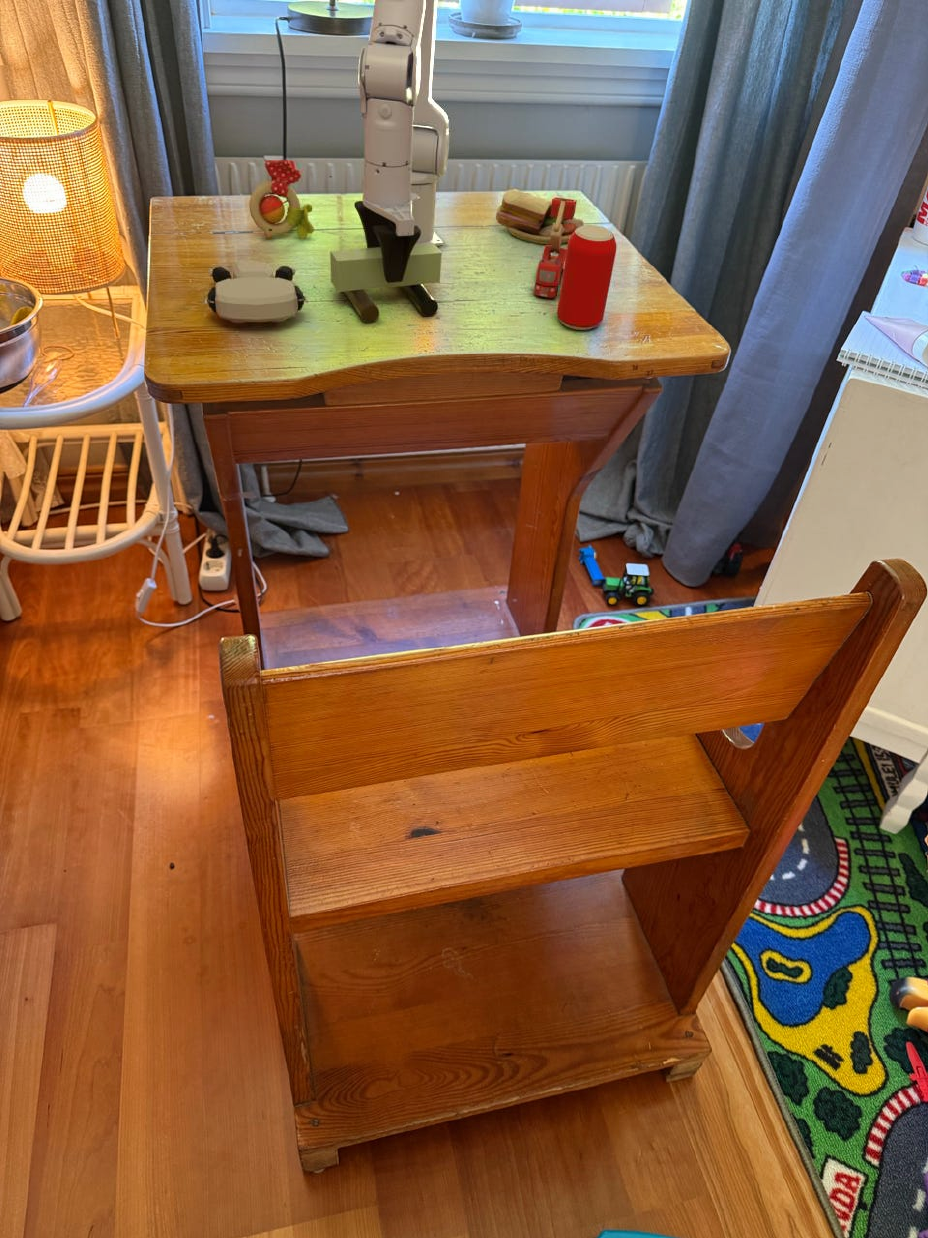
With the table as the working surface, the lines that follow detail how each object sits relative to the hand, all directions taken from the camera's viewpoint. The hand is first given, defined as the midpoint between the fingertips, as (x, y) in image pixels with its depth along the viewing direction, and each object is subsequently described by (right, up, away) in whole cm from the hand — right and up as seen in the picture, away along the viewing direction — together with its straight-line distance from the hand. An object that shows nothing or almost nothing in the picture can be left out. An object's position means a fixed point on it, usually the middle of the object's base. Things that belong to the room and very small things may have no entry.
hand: (385, 270), depth 119 cm
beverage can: (+25, -6, +2) cm, 26 cm away
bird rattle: (-16, +11, +15) cm, 25 cm away
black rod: (+3, -2, +4) cm, 6 cm away
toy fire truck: (+22, +3, +11) cm, 25 cm away
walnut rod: (-4, -4, +1) cm, 6 cm away
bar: (0, -1, +1) cm, 2 cm away
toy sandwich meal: (+22, +15, +24) cm, 36 cm away
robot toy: (-16, -6, -2) cm, 18 cm away
